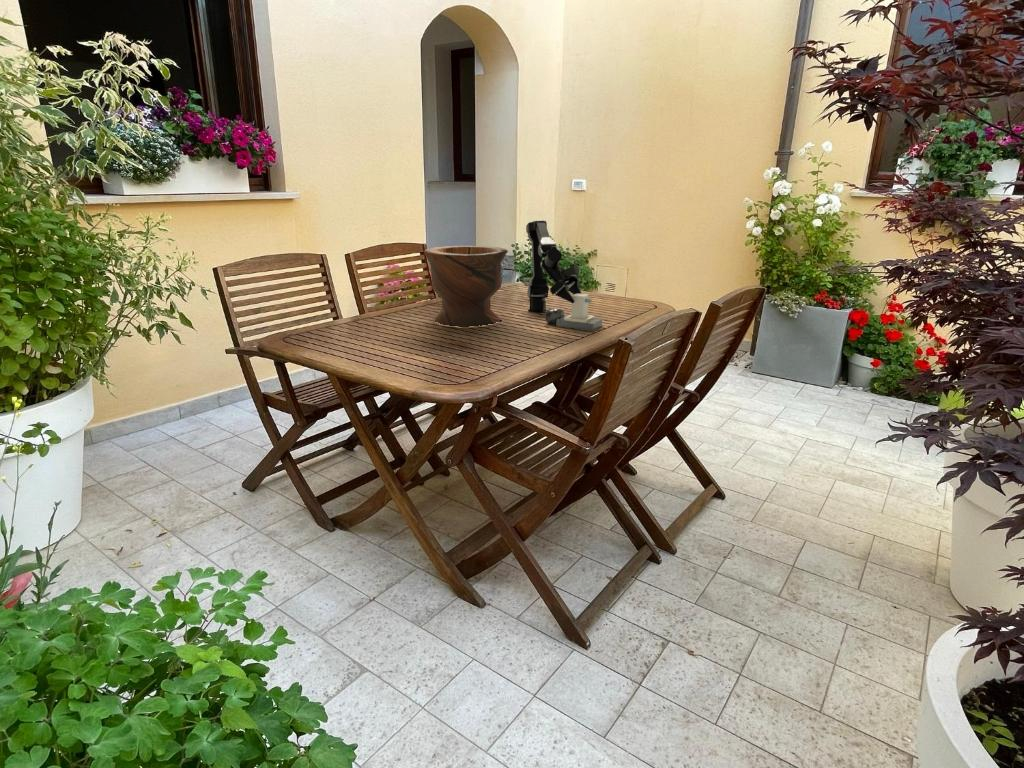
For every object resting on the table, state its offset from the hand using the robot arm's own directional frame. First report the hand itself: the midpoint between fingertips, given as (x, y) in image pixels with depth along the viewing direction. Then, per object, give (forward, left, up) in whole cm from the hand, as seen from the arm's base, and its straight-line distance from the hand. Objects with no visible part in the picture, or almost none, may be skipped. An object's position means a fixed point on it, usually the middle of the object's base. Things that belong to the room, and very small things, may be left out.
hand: (578, 300), depth 247 cm
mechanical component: (-42, +43, -11) cm, 61 cm away
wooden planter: (-45, -13, -11) cm, 48 cm away
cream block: (+1, 0, -8) cm, 8 cm away
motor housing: (-2, 0, -11) cm, 11 cm away
